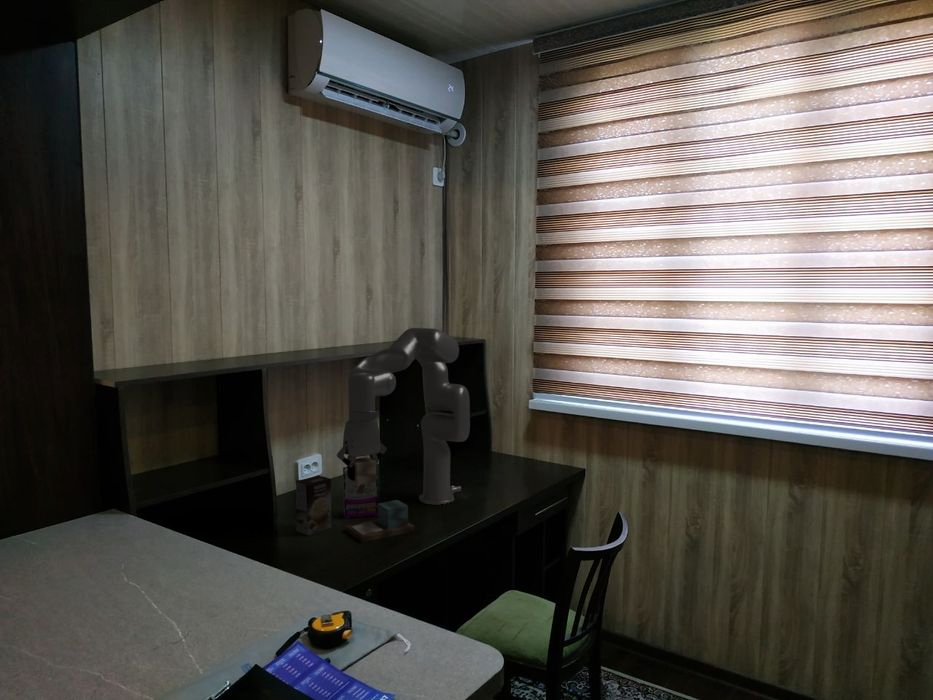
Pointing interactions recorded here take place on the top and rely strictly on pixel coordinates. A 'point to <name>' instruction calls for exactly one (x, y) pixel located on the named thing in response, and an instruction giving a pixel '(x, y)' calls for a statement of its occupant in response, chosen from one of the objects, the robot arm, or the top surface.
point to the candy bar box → (359, 498)
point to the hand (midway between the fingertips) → (362, 477)
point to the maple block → (364, 471)
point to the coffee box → (313, 505)
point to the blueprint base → (379, 534)
